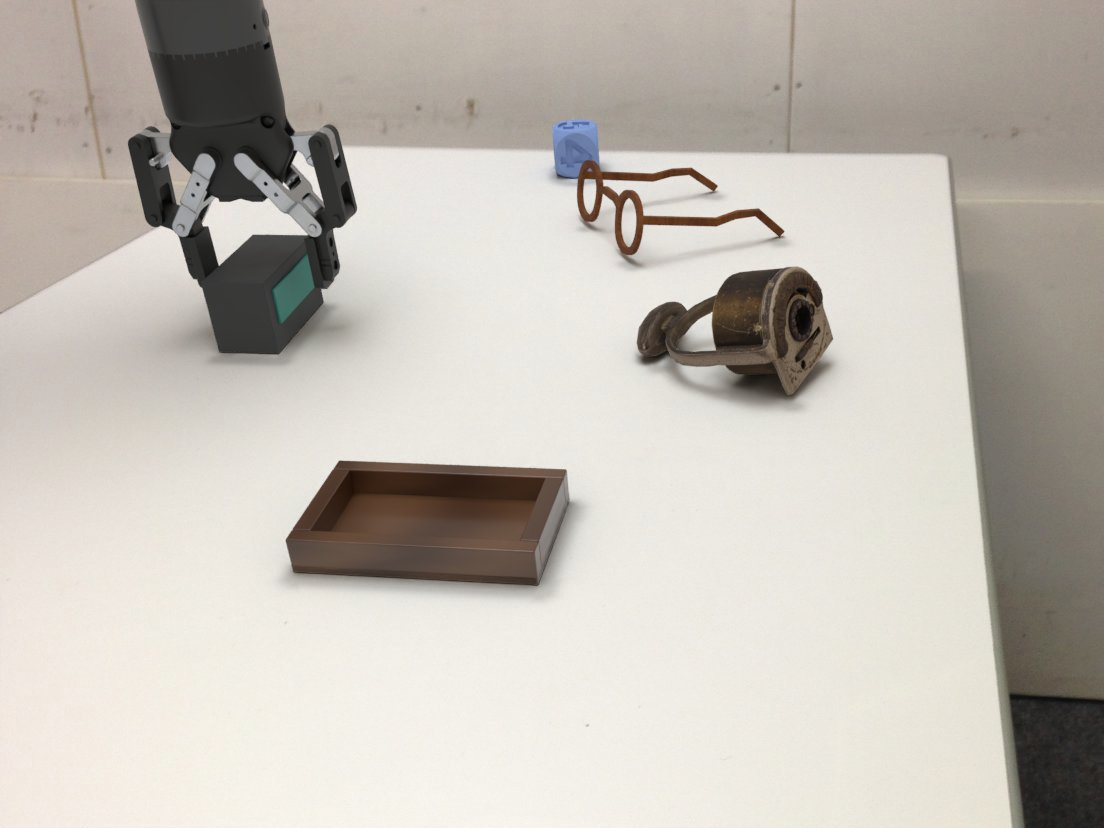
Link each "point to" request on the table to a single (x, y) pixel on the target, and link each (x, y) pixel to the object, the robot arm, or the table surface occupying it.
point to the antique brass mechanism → (749, 326)
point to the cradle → (431, 522)
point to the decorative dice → (574, 146)
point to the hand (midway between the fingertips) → (268, 284)
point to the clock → (261, 294)
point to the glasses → (640, 218)
